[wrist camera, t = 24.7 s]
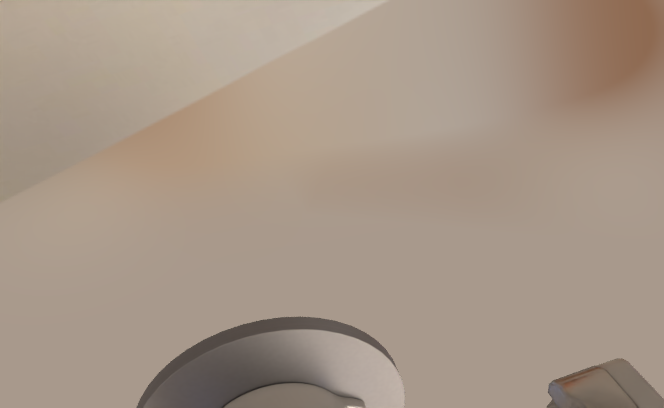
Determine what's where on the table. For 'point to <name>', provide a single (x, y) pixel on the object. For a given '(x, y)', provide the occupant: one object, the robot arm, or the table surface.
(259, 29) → the table surface
